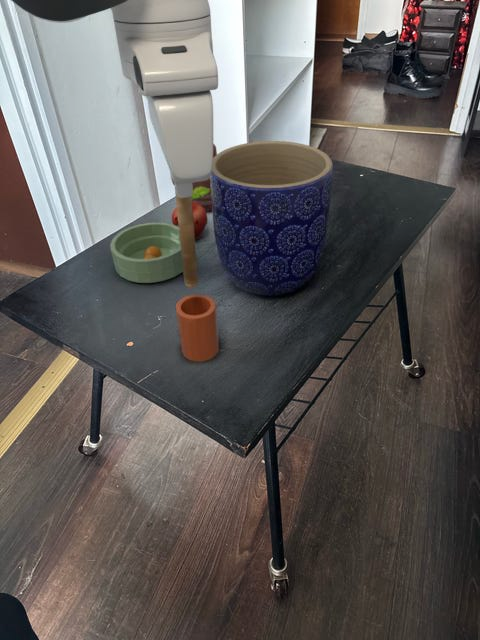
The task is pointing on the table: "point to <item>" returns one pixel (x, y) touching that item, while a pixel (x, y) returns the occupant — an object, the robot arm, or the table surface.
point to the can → (206, 199)
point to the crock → (198, 327)
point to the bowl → (133, 246)
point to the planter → (270, 213)
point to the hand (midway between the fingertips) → (182, 189)
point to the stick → (187, 240)
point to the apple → (195, 212)
